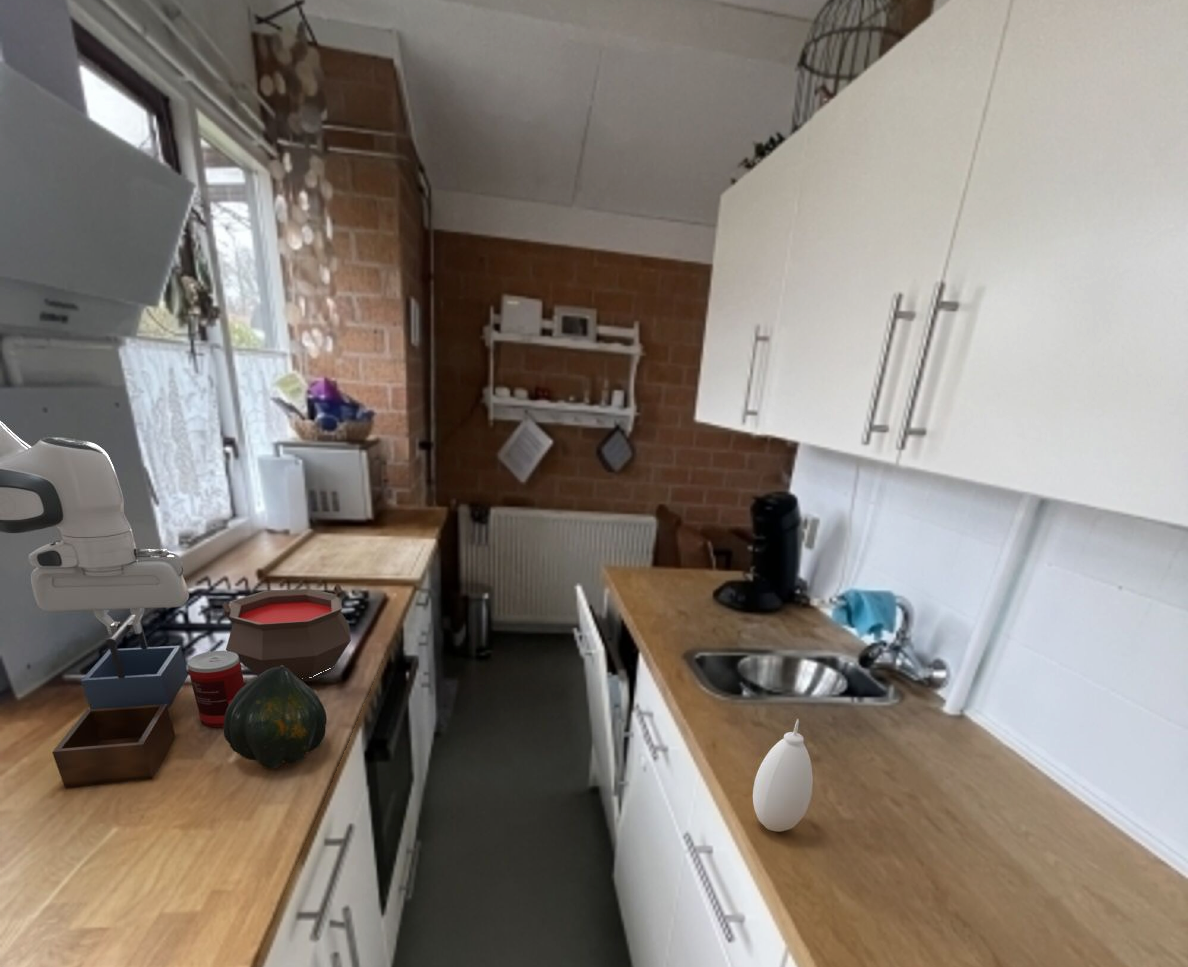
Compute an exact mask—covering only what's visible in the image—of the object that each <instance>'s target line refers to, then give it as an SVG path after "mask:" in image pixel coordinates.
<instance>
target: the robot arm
mask: <svg viewBox="0 0 1188 967" xmlns="http://www.w3.org/2000/svg"><path fill="white" fill-rule="evenodd" d="M114 467H115V466H114V465H113V463H112V461H111V459H110V457H109V454H108V453H107V452H106V451H105V450H104V448H102V447H100V446H99V445H98V444H96V443H93V442H90V441H87V440H83V439H78V438H73V437H66V436H65V437H60V436H46V437H42V438H41V439H39V440H38V441H37V443H35V444H33V445H32V446H31V445H29V444H28V443H27V442H25V441H23V440H22V439H21V438H19V436H18V435H16V434H15V433H14V432H13V431H12V430H11V429H10V428H9V427H7V425H6V424H4V423H3V421H1V420H0V532H1V533H6V534H25V533H30V532H33V531H39V530H44V529H48V528H57V529H58V530H59V532H60V536H61V538H62V539H60V540H56V541H53V542H50V543H47V544H44V545H43V546H41V547H39V548H37V549H35V550H33V551H32V552H31V553H29V555H28V562H29V563H30V565H31V566H32V567H33V568H34V569H33V570H32V572H31V573H30V582H31V587H32V592H33V596H34V600H35V602H36V605H37V606H38V607H39V609H41V610H42V611H44V612H46V613H52V612H53V613H54V612H56V613H57V612H82V611H83V612H84V611H93V615H94V617H95V618H96V619H97V620H98V621H99V622H101V624H102V625H104V626H105V627H106V629H107V632H108V633H107V634H108V635H109V636H111V635H112V634H113V633H114V632H115V631H116V630H117V629H118V628H119V626H120V625H121V624H122V623H121V621H115V620H114V619H113V618H112V617H111V616H110V615H109V614H108V613H109V612H110V610H129V612H130V615H131V614H132V615H135V617H134V620H133V621H129V622H128V624H127V625H126V626H127V629H128V633H127V634H128V635H138V634H140V633H141V632H142V628H141V624H140V621H141V622H142V618H143V615H144V613H145V611H146V609H161V608H163V609H164V608H180V607H181V608H182V607H183V606H184V605H185V604H186V603H187V602H188V600H189V598H190V593H189V589H188V586H187V583H186V580H185V577H184V576H183V572H184V568H183V563H182V560H181V558H180V556H179V555H178V554H176V553H175V552H173V551H169V549H166V548H158V549H150V548H149V549H147V548H146V549H145V548H143V549H142V548H141V549H140V548H137V545H136V541H135V537H134V534H133V530H132V527H131V523H129V521H128V519H127V517H126V515H125V510H124V508H125V506H124V505H125V499H124V495H123V491H122V488H121V485H120V482H119V478H118V475H117V472H116V470H115V468H114Z"/></svg>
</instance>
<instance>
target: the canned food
mask: <svg viewBox="0 0 1188 967" xmlns="http://www.w3.org/2000/svg"><path fill="white" fill-rule="evenodd" d="M187 669H188V674H189V675H188V676H189V678H190V682H191V686H192V690H193V694H194V699H195V703H196V706H197V712H198V715H199V719H200V721H201V722H202V723H203V724H204V725H205V726H207V727H211V728H212V727H213V728H224V718H225V714H226V710H227V708H228V706H229V704H230V703H231V701H232V700H233V698H234V697H235V695H236V694H237V692H238V691H239V690H240V689H241V688H242V687H243V686H245V685H246V684H245V680H244V675H243V670H242V663H241V662H240V660H239V657H238V655H237V654H236V653H234V652H230V651H227V650H211V651H206V652H201V653H199V654H195V655H194V656H192V657H191V658H189V660H188V661H187Z"/></svg>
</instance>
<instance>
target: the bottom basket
mask: <svg viewBox="0 0 1188 967" xmlns="http://www.w3.org/2000/svg"><path fill="white" fill-rule="evenodd" d="M175 737H176V733H175V729H174V726H173V720H172V718H171V714H170V710H169V708H168V706H167V704H158V705H144V706H130V707H116V708H101V709H90V708H89V709H86V710H85V711H84V712H83V714H82V715H80V717H79V718H78V720H77V721H76V722H75V723H74V724H73V726H72V727H71V729H70V730H68V732H67V733H66V734H65V735H64V737H63V738H62V739H61V740H60V742H58V744H57V745H56V746H55V747H54V749H53V750H52V751H51V753H52V756H53V759H54V761H55V764H56V767H57V770H58V773H59V776H60V778H61V782H62V783H63V786H64V788H65V789H67V788H75V787H84V786H85V787H86V786H87V787H88V786H96V785H106V784H108V785H109V784H118V783H126V782H127V783H128V782H136V781H137V782H138V781H148V780H153V779H154V777H155V775H157V774H156V773H157V772H158V770H159V768H160V766H161V764H162V762H163V760H164V759H165V757H166V755H167V753H168V751H169V749H170V747H171V745H172V743H173V742H174V740H175Z"/></svg>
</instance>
